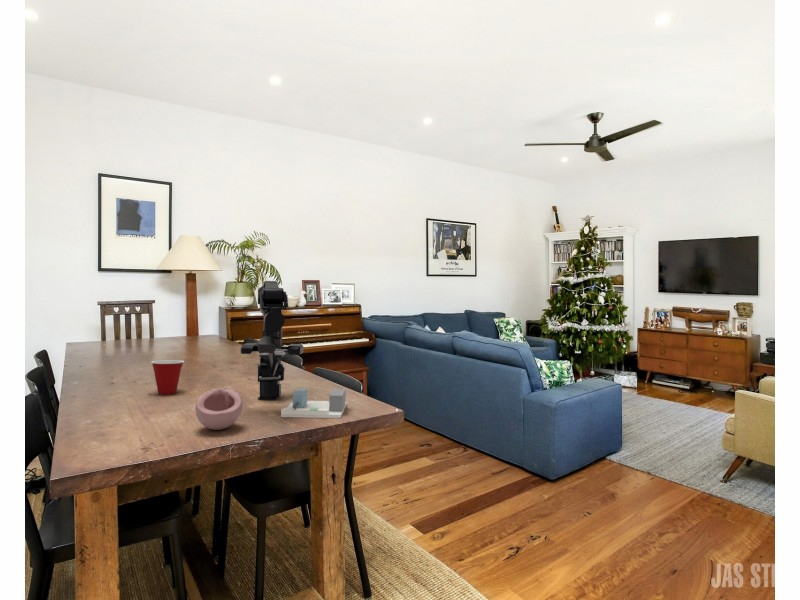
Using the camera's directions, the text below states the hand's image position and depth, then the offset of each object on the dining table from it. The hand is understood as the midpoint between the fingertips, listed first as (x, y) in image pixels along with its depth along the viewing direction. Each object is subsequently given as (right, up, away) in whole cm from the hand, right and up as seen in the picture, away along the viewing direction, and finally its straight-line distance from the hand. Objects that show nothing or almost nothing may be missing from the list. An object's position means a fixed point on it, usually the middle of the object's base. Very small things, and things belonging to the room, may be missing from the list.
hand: (272, 375), depth 145 cm
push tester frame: (+14, -11, 0) cm, 18 cm away
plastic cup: (-43, -10, +19) cm, 48 cm away
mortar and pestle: (-9, -12, -20) cm, 25 cm away
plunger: (+9, -10, -2) cm, 13 cm away
